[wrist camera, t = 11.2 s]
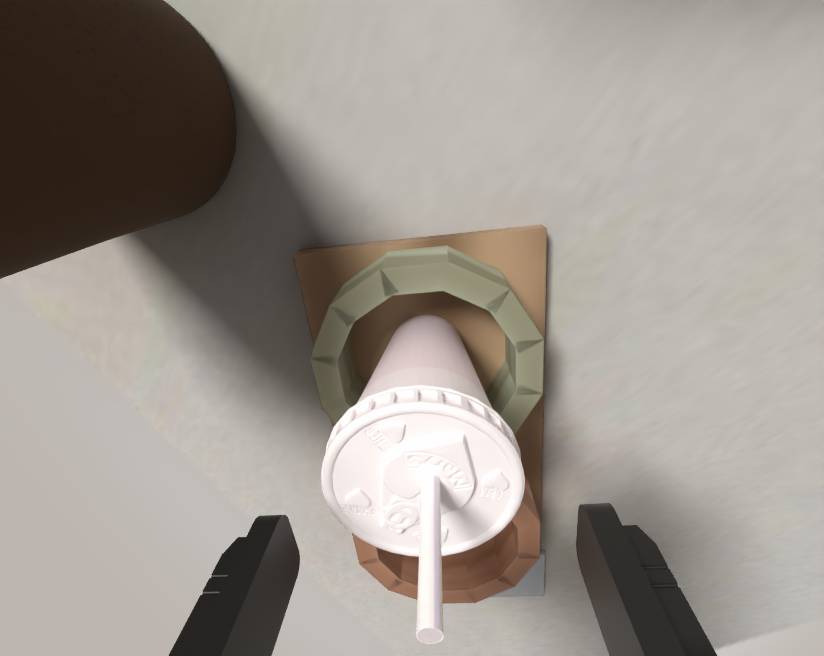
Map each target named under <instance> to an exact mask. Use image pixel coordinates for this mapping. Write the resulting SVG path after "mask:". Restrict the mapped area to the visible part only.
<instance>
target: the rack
mask: <svg viewBox="0 0 824 656" xmlns="http://www.w3.org/2000/svg"><path fill="white" fill-rule="evenodd" d="M546 247H547V228H545V227H544V226H542V225H536V226H526V227H517V228H507V229H498V230H488V231H478V232H469V233H459V234H449V235H440V236H430V237H421V238H411V239H401V240H392V241H382V242H372V243H363V244H353V245H344V246H334V247H324V248H315V249H305V250H299V251H297V252H296V253H295V254H293V257H294V262H295V266H296V270H297V275H298V279H299V283H300V287H301V292H302V296H303V300H304V305H305V309H306V313H307V317H308V322H309V326H310V330H311V335H312V339H313V343H314V348H313V351H312V354H311V356H310V361H311V365H312V369H313V373H314V377H315V381H316V385H317V390H318V394H319V398H320V402H321V406H322V409H323V410H324V411H325V412H326V413H327V414H328V416H329V417H330V418H331V420H332V425H333V428H334V426H335V425H336V423H337V422H338V421H339V420H340V419H341V418H342V416H343V415H344V414H345V413H346V412H347V410H348V409H350V408H351V407H353V406H354V405H356V404H357V402H358V400H359V398H360V397H361V395H362V393H363V391H364V390H365V388H366V386H367V384H368V382H369V380H370V378H371V376H372V374H373V372H374V371H375V369H376V367H377V365H378V363H379V361H380V359H381V357H382V355H383V353H384V352H385V350H386V348H387V346H388V344H389V342H390V340H391V338H392V336H393V335H394V333H395V331H396V329H397V328H398V327H399V326H400V325H401V324H402V323H403V322H404V321H406V320H407V319H409V318H412V317H414V316H418V315H434V316H438V317H441V318H443V319H445V320H446V321H448V322H449V323H451V324H452V325H453V326H454V328H455V329H456V330H457V332H458V334H459V336H460V338H461V340H462V342H463V345H464V347H465V349H466V351H467V354H468V356H469V358H470V360H471V363H472V365H473V367H474V369H475V371H476V374H477V376H478V378H479V380H480V383H481V385H482V387H483V389H484V392H485V394H486V396H487V398H488V400H489V402H490V404H491V406H492V409H493V410H495V411H496V412H497V413H498V414H499V415H500V416H501V418H502V419H503V420H504V421H505V422H506V424H507V425H508V426H509V427H510V429H511V430H512V431H513V434H514V436H515V439H516V441H517V444H518V446H519V449H520V455H521V463H522V467H523V471H524V478H525V486H524V494H523V498H522V501H521V504H520V506H519V508H518V510H517V512H516V514H515V516H514V517H513V518H512V520H511V521H510V522H509V523H508V525H507V526H506V527H505V528H504V529H503V530H502V531H500V532H499V533H498V534H497V535H495V536H494V537H493V538H491V539H490V540H488V541H486V542H484V543H483V544H481V545H479V546H477V547H474V548H472V549H469V550H466V551H464V552H460V553H456V554H451V555H446V556H442V600H443V603H476V602H478V601H481V600H483V599H486V598H488V597H491V596H493V595H496V594H498V593H501V592H503V591H506V590H508V589H511V588H513V587H515V586H516V585H517V584H518V583H519V582H520V580H521V579H522V578H523V577H524V576H525V575H526V573H527V572H528V571H529V570H530V569H531V567H532V566H533V565H534V564H535V563H536V562H537V560H538V559H539V558H540V544H541V494H542V445H543V395H544V346H545V296H546ZM352 535H353V539H354V543H355V547H356V551H357V556H358V560H359V564H360V565H361V566H362V567H363V568H365V569H366V570H367V571H368V572H369V573H370V574H371V575H372V576H373V577H374V578H376V579H377V580H378V581H379V582H380V583H381V584H382V585H383V586H384V587H386V588H387V589H388V590H390V591H393V592H396V593H399V594H402V595H405V596H408V597H411V598H414V599H418V570H419V557H417V556H407V555H402V554H397V553H392V552H389V551H386V550H383V549H380V548H377V547H375V546H373V545H371V544H369V543H367V542H365V541H363V540H361V539H360V538H358V537H357V536H356V535H354V534H353V533H352Z"/></svg>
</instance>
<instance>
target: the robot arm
mask: <svg viewBox="0 0 824 656" xmlns="http://www.w3.org/2000/svg"><path fill="white" fill-rule="evenodd" d="M576 548H577V556H578V562H579V566H580V569H581V573H582V575H583V578H584V581H585V584H586V587H587V590H588V593H589V596H590V599H591V602H592V605H593V608H594V611H595V614H596V617H597V620H598V623H599V626H600V629H601V632H602V635H603V637H604V640H605V643H606V646H607V649H608V652H609V655H610V656H717V654H716V653H715V651H714V649H713V647H712V645H711V643H710V642H709V640H708V638H707V636H706V634H705V633H704V631H703V629H702V627H701V625H700V623H699V622H698V620H697V618H696V616H695V614H694V613H693V611H692V609H691V607H690V605H689V603H688V602H687V600H686V598H685V596H684V594H683V593H682V591H681V589H680V588H679V587H678V585H677V582H676V580H675V578H674V576H673V574H672V573H671V571H670V569H668V567H667V564H666V562H665V560H664V558H663V556H662V554H661V553H660V551H659V549H658V547H657V545H656V544H655V542H653V541H652V540H651V539H650V538H649V537H648V536H647V535H646V534H645V533H644V532H643V531H642V530H641V529H640V528H639V527H638V526H637V525H630V526H622V524H621V522H620V520H619V518H618V516H617V514H616V512H615V510H614V508H613V507H612V505H611V504H609V503H607V504H581V505H579V510H578V525H577V540H576ZM299 564H300V555H299V550H298V547H297V544H296V541H295V537H294V534H293V531H292V528H291V525H290V522H289V519H288V517H287V516H286V515H270V516H259V517H257V518H256V519H255V521H254V523H253V525H252V527H251V529H250V531H249V533H248V535H247V537H238V538H237V539H236V540H235V541H234V542H233V543H232V544H231V546H230V547H229V548H228V549H227V550H226V551H225V552H224V553H223V554H222V556H221V558H220V560H219V561H218V563H217V565H216V567H215V569H214V571H213V573H212V577H211V578H210V579H209V580H208V582H207V584H206V586H205V588H204V590H203V594H202V595H200V597H199V599H198V601H197V603H196V605H195V607H194V609H193V610H192V613H191V614H190V616H189V618H188V620H187V622H186V624H185V626H184V628H183V630H182V631H181V633H180V635H179V637H178V639H177V641H176V643H175V645H174V646H173V649H172V650H171V652H170V654H169V656H271V655H272V652H273V649H274V646H275V643H276V640H277V637H278V634H279V631H280V628H281V625H282V622H283V618H284V616H285V612H286V609H287V606H288V603H289V600H290V597H291V594H292V591H293V588H294V585H295V582H296V579H297V576H298V571H299Z"/></svg>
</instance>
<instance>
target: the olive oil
mask: <svg viewBox="0 0 824 656" xmlns="http://www.w3.org/2000/svg"><path fill="white" fill-rule="evenodd" d="M235 137H236V126H235V115H234V108H233V103H232V99H231V95H230V92H229V88H228V85H227V83H226V80H225V77H224V75H223V73H222V70H221V68H220V66H219V64H218V62H217V60H216V59H215V57H214V55H213V53H212V52H211V50H210V49H209V47H208V46H207V44H206V43H205V41H204V40H203V39H202V37H201V36H200V35H199V33H198V32H197V31H196V30H195V29H194V28H193V26H192V25H191V24H190V23H189V22H188V21H187V20H186V19H185V18H184V17H183V16H182V15H181V14H180V13H178V12H177V11H176V10H175V9H174V8H173V7H171V6H170V5H169V4H167V3H166V2H165V1H163V0H0V278H3V277H6V276H9V275H12V274H14V273H17V272H20V271H23V270H26V269H28V268H31V267H34V266H37V265H39V264H42V263H45V262H48V261H51V260H53V259H56V258H59V257H62V256H65V255H67V254H70V253H73V252H76V251H79V250H81V249H84V248H87V247H90V246H93V245H95V244H98V243H101V242H104V241H107V240H110V239H113V238H116V237H119V236H122V235H125V234H128V233H131V232H134V231H137V230H140V229H143V228H146V227H149V226H152V225H155V224H159V223H162V222H165V221H168V220H171V219H174V218H177V217H180V216H182V215H185V214H187V213H190V212H192V211H194V210H195V209H197V208H199V207H200V206H202V205H203V204H204V203H206V202H207V201H208V200H209V199H210V198H211V197H212V196H213V195H214V194H215V193H216V192H217V190H218V189H219V188H220V186H221V185H222V183H223V181H224V180H225V178H226V176H227V173H228V171H229V168H230V166H231V162H232V159H233V154H234V148H235Z"/></svg>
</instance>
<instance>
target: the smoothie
mask: <svg viewBox="0 0 824 656" xmlns="http://www.w3.org/2000/svg"><path fill="white" fill-rule="evenodd" d="M321 484H322V490H323V494H324V497H325V499H326V502H327V504H328V506H329V508H330V510H331V511H332V513H333V514H334V515H335V517H336V518H337V519H338V520H339V521H340V523H341V524H342V525H343V526H344V527H346V529H348V530H349V531H350V532H352V533H353V534H354V535H356V536H357V537H358V538H360V539H361V540H363V541H365V542H367V543H369V544H371V545H373V546H375V547H377V548H380V549H383V550H386V551H389V552H392V553H397V554H402V555H407V556H417V557H419V570H418V599H417V629H416V636H417V638H418V640H420V641H421V642H423V643H427V644H434V643H438V642H440V641H441V640H442V639H443V600H442V556H446V555H451V554H456V553H460V552H464V551H466V550H469V549H472V548H474V547H477V546H479V545H481V544H483V543H484V542H486V541H488V540H490V539H491V538H493V537H494V536H495V535H497V534H498V533H499V532H500V531H502V530H503V529H504V528H505V527H506V526H507V525H508V523H509V522H510V521H511V520H512V518H513V517H514V516H515V514H516V512H517V510H518V508H519V506H520V504H521V501H522V498H523V494H524V486H525V478H524V471H523V467H522V463H521V455H520V449H519V446H518V444H517V441H516V439H515V436H514V434H513V431H512V430H511V429H510V427H509V426H508V425H507V424H506V422H505V421H504V420H503V419H502V418H501V416H500V415H499V414H498V413H497V412H496V411H495V410H493V409H492V406H491V404H490V402H489V400H488V398H487V396H486V394H485V392H484V389H483V387H482V385H481V383H480V380H479V378H478V376H477V374H476V371H475V369H474V367H473V365H472V363H471V360H470V358H469V356H468V354H467V351H466V349H465V347H464V345H463V342H462V340H461V338H460V336H459V334H458V332H457V330H456V329H455V328H454V326H453V325H452V324H451V323H449V322H448V321H446V320H445V319H443V318H441V317H438V316H434V315H418V316H414V317H412V318H409V319H407V320H406V321H404V322H403V323H402V324H401V325H400V326H399V327H398V328H397V329H396V331H395V333H394V335H393V336H392V338H391V340H390V342H389V344H388V346H387V348H386V350H385V352H384V353H383V355H382V357H381V359H380V361H379V363H378V365H377V367H376V369H375V371H374V372H373V374H372V376H371V378H370V380H369V382H368V384H367V386H366V388H365V390H364V391H363V393H362V395H361V397H360V398H359V400H358V402H357V404H356V405H354V406H353V407H351V408H350V409H348V410H347V412H346V413H345V414H344V415H343V416H342V418H341V419H340V420H339V421H338V422H337V423H336V425H335V426H334V428H333V430H332V433H331V435H330V438H329V440H328V442H327V445H326V454H325V457H324V459H323V464H322V469H321Z"/></svg>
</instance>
